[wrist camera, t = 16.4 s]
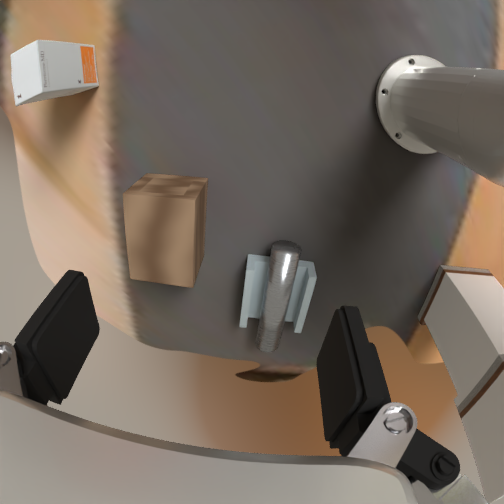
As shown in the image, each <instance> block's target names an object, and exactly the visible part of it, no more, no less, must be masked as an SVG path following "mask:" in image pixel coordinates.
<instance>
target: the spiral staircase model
mask: <svg viewBox="0 0 504 504" xmlns="http://www.w3.org/2000/svg"><path fill="white" fill-rule="evenodd" d="M418 319H419V321H420V324H421V325H427V327H428V329H429V331H430V333H431V335H432V337H433V339H434V341H435V344H436V346H437V348H438V350H439V352H440V354H441V356H442V359H443V361H444V363H445V365H446V367H447V370H448V372H449V374H450V377H451V379H452V381H453V384H454V386H455V388H456V391H457V393H458V396H457V397H456V398H455V399H454V401H455V404H456V406H457V409H458V412H459V415H460V417H461V420H462V423H463V426H464V428H465V431H466V434H467V437H468V440H469V443H470V447H471V449H472V453H473V456H474V459H475V463H476V466H477V469H478V473H479V477H480V480H481V484H482V488H483V492H484V496H485V499H486V500H487V501H488V503H489V504H490V503H492V502H494V501H496V500H498V499H500V498H502V497H504V288H503V287H502V286H501V285H500V283H499V282H498V281H497V280H496V278H495V277H494V276H493V275H492V274H491V273H490V271H489V270H487V269H477V268H466V267H456V266H445V265H440V267H439V269H438V272H437V274H436V277H435V279H434V281H433V284H432V286H431V288H430V291H429V293H428V295H427V297H426V300H425V302H424V304H423V306H422V308H421V310H420V312H419V315H418Z"/></svg>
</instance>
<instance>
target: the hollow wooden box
mask: <svg viewBox="0 0 504 504" xmlns="http://www.w3.org/2000/svg"><path fill="white" fill-rule="evenodd" d="M207 187H208V178H200V177H189V176H177V175H164V174H150V173H146V174H145V175H144V176H143V177H142V178H141V179H139V180H138V181H137V182H136V183H135V184H134V185H132V186H131V187H130V188H129V189H128V190H127V191H126V192H124V193H123V205H124V220H125V232H126V243H127V253H128V262H129V271H130V279H136V280H142V281H149V282H155V283H162V284H169V285H176V286H183V287H191V288H193V287H194V284H195V281H196V278H197V275H198V272H199V269H200V266H201V263H202V260H203V257H204V244H205V222H206V204H207Z"/></svg>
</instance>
